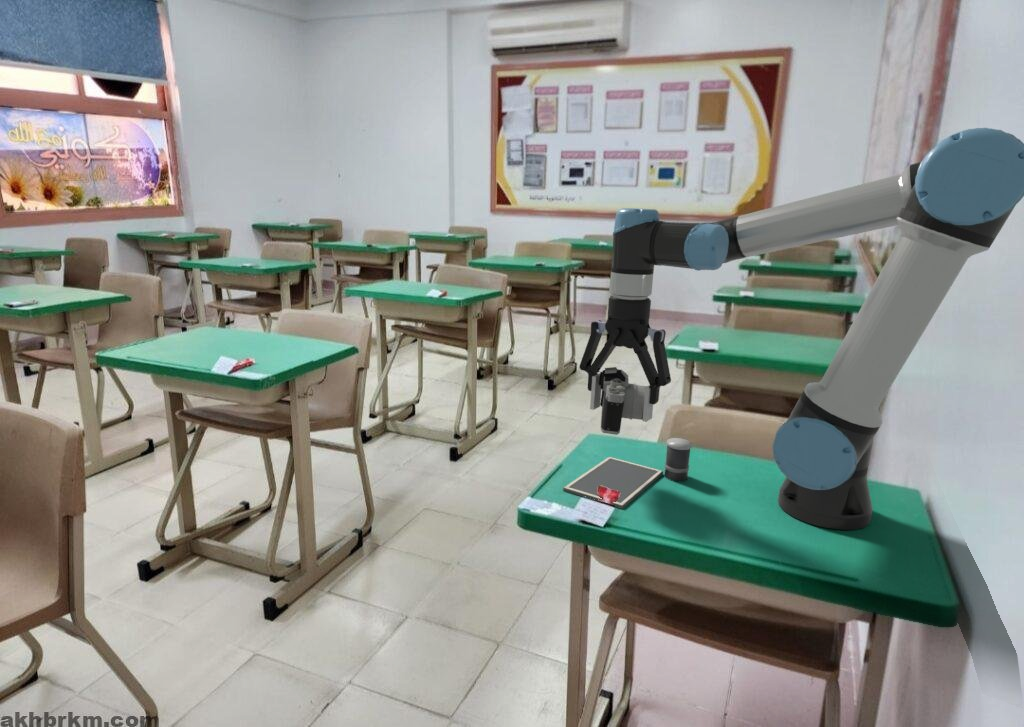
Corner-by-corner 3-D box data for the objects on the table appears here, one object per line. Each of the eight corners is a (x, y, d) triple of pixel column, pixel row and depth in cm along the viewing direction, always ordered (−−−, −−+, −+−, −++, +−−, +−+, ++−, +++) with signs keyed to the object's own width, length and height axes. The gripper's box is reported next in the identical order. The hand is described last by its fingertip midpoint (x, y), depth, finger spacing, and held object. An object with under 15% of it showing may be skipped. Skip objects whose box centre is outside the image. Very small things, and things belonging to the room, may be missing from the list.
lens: (691, 476, 129) (695, 441, 127) (683, 483, 125) (686, 448, 124) (668, 470, 132) (672, 436, 130) (660, 477, 128) (663, 442, 126)
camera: (644, 440, 115) (652, 386, 112) (593, 433, 116) (600, 380, 113) (640, 410, 129) (647, 362, 126) (595, 404, 130) (601, 356, 128)
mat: (662, 474, 130) (663, 471, 129) (622, 509, 114) (622, 505, 114) (608, 459, 136) (608, 456, 136) (563, 490, 121) (563, 487, 121)
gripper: (698, 301, 114) (685, 421, 119) (584, 287, 126) (577, 397, 131) (683, 306, 108) (670, 432, 113) (565, 291, 120) (558, 406, 125)
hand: (620, 413), depth 122 cm, fingers closed on camera, 10 cm apart
